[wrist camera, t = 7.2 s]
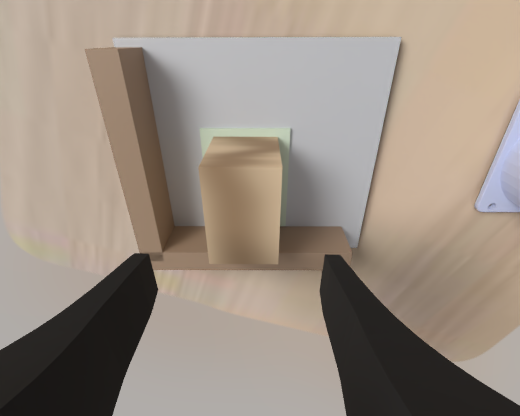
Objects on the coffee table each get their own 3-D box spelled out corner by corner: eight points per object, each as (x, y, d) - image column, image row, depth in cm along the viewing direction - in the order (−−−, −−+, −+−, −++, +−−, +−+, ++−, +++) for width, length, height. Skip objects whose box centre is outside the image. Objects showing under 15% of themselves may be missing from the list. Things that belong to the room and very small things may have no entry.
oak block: (277, 136, 18) (282, 167, 14) (274, 218, 21) (278, 264, 17) (213, 136, 18) (198, 167, 14) (220, 217, 21) (209, 263, 17)
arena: (398, 36, 16) (430, 36, 13) (355, 244, 23) (369, 275, 20) (115, 37, 16) (81, 37, 13) (161, 244, 23) (145, 275, 20)
